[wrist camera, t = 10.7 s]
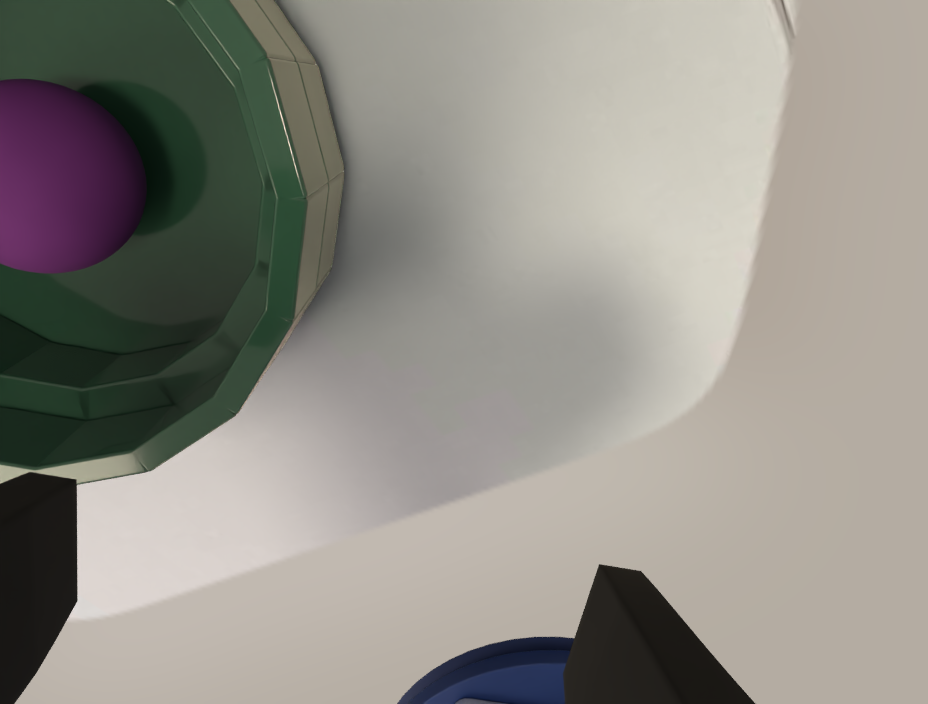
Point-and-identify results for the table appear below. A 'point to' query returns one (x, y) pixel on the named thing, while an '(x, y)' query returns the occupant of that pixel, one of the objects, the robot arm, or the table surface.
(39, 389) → the bowl
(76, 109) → the ball
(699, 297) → the table surface
